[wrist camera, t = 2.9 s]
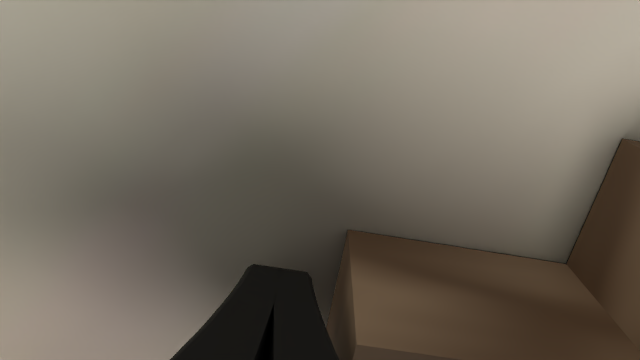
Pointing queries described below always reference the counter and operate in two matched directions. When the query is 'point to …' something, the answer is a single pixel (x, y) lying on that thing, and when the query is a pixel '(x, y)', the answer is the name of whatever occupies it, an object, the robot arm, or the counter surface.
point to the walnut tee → (498, 292)
